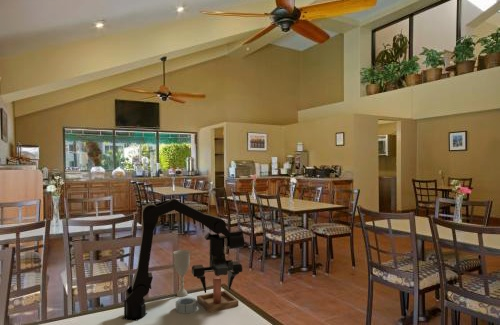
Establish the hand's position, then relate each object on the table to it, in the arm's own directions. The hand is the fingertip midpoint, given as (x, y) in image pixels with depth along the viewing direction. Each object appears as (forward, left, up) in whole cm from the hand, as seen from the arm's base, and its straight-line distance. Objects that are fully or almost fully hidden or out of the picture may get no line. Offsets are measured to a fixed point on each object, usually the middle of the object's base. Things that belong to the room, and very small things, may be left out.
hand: (217, 291), depth 129 cm
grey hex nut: (-9, -8, -5) cm, 13 cm away
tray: (0, 0, -5) cm, 5 cm away
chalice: (-17, +4, -5) cm, 18 cm away
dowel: (0, 0, -4) cm, 4 cm away
